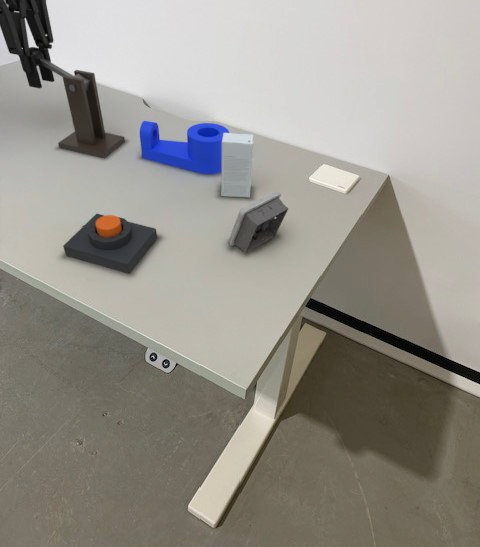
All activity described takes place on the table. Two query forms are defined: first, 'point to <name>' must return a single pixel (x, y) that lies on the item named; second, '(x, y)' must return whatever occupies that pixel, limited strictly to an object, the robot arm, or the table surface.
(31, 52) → the lever
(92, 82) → the bracket
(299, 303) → the table surface
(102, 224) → the button
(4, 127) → the table surface
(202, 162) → the bracket
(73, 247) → the button box
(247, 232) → the electrical switch
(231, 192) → the cosmetic box
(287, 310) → the table surface
